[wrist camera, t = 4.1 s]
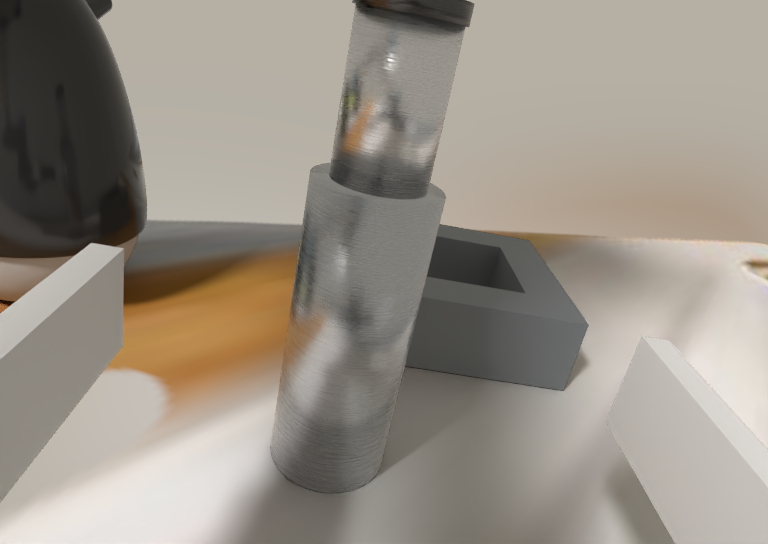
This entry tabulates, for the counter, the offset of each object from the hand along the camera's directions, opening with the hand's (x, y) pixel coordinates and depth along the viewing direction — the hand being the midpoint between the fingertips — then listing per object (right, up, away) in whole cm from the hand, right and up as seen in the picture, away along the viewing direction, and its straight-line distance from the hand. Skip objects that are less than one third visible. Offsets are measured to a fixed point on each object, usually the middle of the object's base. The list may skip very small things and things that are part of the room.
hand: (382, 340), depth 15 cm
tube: (-2, -5, +8) cm, 10 cm away
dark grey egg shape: (-18, +1, +16) cm, 24 cm away
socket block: (+4, -1, +21) cm, 21 cm away
